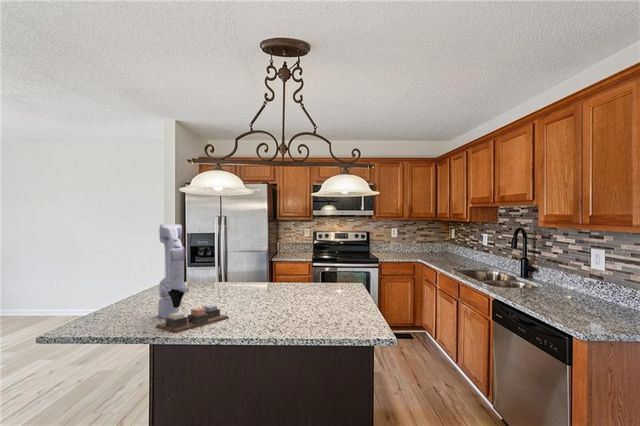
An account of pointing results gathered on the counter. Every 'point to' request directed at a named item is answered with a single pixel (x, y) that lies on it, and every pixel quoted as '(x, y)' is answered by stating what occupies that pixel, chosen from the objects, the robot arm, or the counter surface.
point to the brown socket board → (191, 321)
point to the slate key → (210, 307)
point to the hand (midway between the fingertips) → (176, 307)
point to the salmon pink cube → (198, 311)
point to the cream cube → (176, 316)
